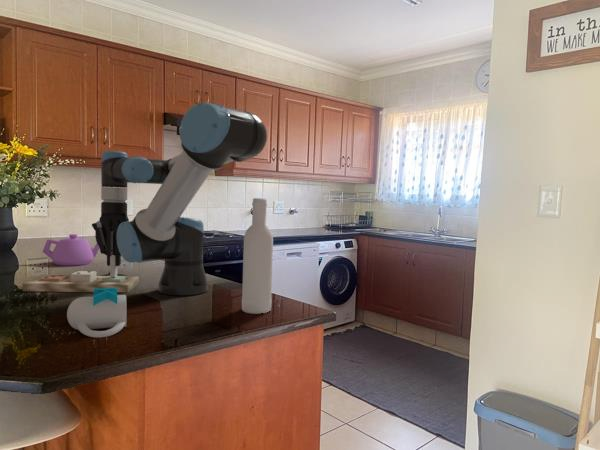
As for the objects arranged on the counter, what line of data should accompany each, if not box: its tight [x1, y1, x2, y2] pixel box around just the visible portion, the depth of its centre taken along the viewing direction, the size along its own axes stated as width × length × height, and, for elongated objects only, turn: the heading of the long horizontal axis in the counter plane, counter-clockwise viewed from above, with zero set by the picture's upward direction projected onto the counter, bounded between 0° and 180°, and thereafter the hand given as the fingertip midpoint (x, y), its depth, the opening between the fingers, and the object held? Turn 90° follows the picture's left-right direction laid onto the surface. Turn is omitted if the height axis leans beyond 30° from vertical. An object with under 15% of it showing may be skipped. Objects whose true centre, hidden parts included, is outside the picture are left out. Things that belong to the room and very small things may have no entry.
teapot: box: [42, 233, 100, 267], centre depth 183 cm, size 22×16×12 cm
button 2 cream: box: [70, 270, 97, 282], centre depth 139 cm, size 6×6×3 cm
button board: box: [22, 274, 140, 293], centre depth 139 cm, size 30×13×2 cm, turn 96°
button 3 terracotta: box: [40, 274, 68, 282], centre depth 138 cm, size 6×6×3 cm
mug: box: [66, 287, 128, 339], centre depth 97 cm, size 12×9×12 cm
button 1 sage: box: [102, 275, 127, 282], centre depth 140 cm, size 6×6×3 cm
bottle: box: [241, 197, 274, 315], centre depth 119 cm, size 8×8×30 cm
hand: (113, 276), depth 140 cm, fingers closed
